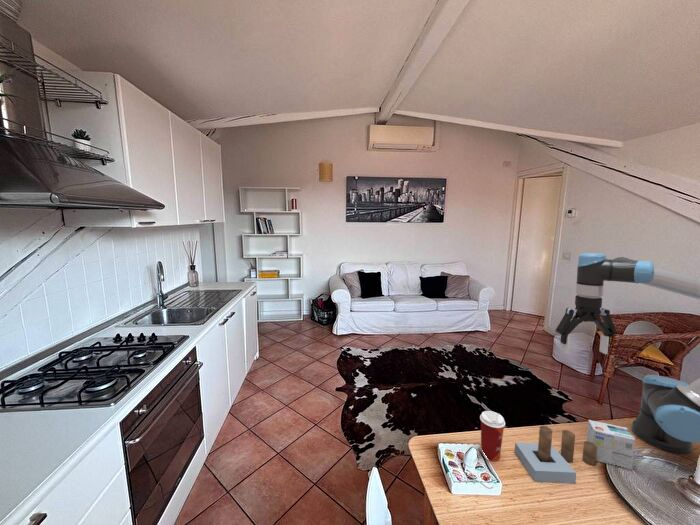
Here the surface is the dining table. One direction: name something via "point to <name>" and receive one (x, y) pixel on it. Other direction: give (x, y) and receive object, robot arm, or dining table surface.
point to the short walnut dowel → (589, 453)
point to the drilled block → (545, 464)
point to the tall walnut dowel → (544, 444)
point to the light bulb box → (612, 443)
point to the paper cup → (491, 434)
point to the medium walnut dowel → (567, 445)
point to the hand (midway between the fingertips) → (584, 352)
